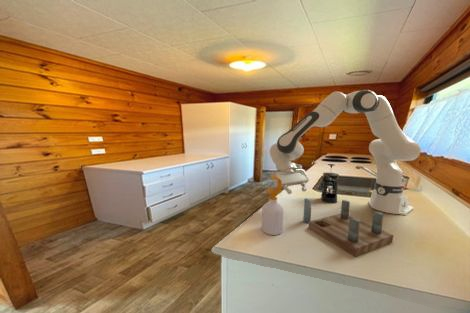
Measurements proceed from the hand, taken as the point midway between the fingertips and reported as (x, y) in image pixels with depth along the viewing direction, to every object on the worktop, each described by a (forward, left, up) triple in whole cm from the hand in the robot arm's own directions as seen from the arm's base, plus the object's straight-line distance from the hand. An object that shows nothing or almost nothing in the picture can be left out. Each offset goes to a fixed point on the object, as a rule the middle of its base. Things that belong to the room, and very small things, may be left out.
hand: (297, 192), depth 99 cm
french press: (-34, -9, -13) cm, 37 cm away
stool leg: (0, +7, -13) cm, 14 cm away
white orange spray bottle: (+20, +7, -13) cm, 25 cm away
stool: (-7, +23, -12) cm, 27 cm away
